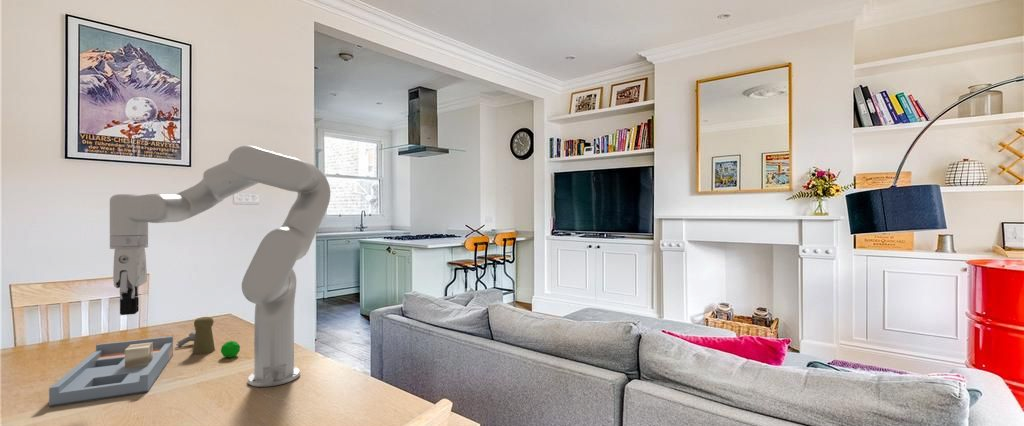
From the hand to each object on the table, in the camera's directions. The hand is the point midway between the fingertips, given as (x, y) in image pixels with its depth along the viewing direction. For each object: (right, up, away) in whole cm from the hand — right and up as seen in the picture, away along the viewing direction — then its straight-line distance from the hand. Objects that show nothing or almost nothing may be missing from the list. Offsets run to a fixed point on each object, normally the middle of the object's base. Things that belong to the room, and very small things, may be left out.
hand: (129, 313), depth 115 cm
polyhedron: (+11, -19, +24) cm, 33 cm away
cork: (-1, -19, +29) cm, 35 cm away
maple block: (-5, -16, +8) cm, 19 cm away
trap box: (-8, -19, +7) cm, 22 cm away
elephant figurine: (-9, -19, +36) cm, 42 cm away
